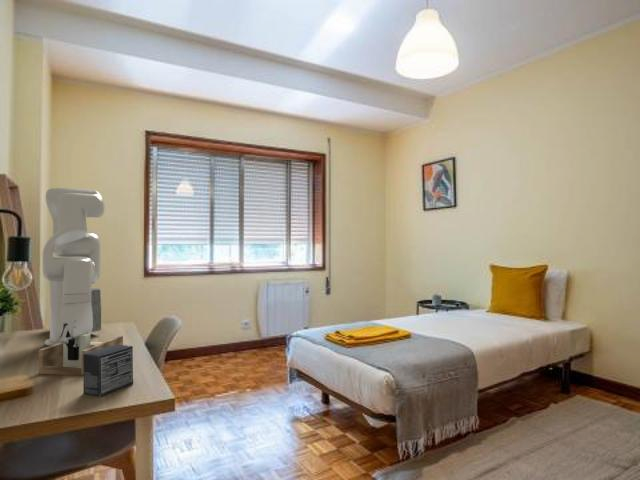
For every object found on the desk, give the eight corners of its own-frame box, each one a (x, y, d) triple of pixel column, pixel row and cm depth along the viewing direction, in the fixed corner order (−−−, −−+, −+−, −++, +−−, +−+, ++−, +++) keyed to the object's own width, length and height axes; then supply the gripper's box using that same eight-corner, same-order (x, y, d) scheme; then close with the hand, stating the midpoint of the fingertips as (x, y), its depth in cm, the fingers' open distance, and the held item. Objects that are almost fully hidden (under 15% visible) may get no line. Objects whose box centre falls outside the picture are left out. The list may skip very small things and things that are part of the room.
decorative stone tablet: (102, 286, 172) (64, 288, 187) (87, 288, 166) (49, 290, 181) (104, 332, 170) (66, 331, 185) (89, 335, 165) (50, 333, 180)
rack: (82, 355, 138) (82, 335, 138) (122, 356, 137) (123, 336, 137) (38, 373, 119) (38, 349, 119) (85, 375, 118) (85, 351, 118)
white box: (68, 365, 126) (68, 333, 126) (90, 366, 126) (90, 333, 126) (63, 368, 124) (63, 335, 124) (85, 368, 123) (85, 335, 123)
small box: (116, 381, 113) (117, 343, 113) (134, 384, 110) (134, 345, 110) (81, 394, 103) (82, 352, 103) (99, 397, 101) (100, 355, 101)
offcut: (89, 349, 136) (89, 342, 136) (109, 350, 135) (109, 342, 135) (82, 352, 132) (82, 344, 132) (102, 352, 132) (103, 345, 132)
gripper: (83, 295, 133) (82, 351, 133) (46, 302, 117) (45, 366, 117) (104, 295, 133) (104, 351, 133) (71, 302, 117) (70, 366, 117)
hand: (76, 357), depth 125 cm, fingers closed on white box, 2 cm apart
